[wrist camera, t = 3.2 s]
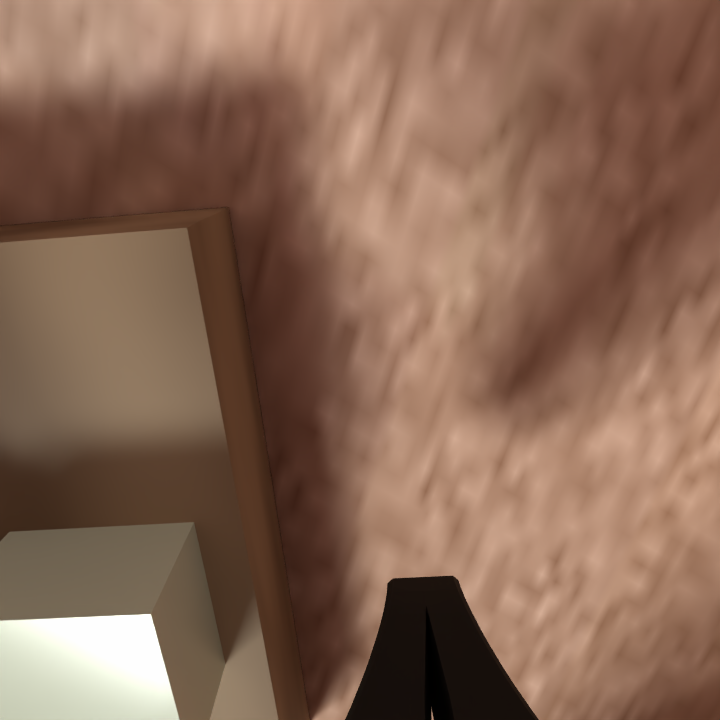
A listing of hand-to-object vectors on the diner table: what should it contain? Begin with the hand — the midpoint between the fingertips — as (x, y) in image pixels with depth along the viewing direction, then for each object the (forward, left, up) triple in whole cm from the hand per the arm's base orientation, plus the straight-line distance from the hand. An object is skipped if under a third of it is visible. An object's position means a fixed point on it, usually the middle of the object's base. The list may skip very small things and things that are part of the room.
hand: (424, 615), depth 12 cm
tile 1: (-7, 0, -1) cm, 7 cm away
